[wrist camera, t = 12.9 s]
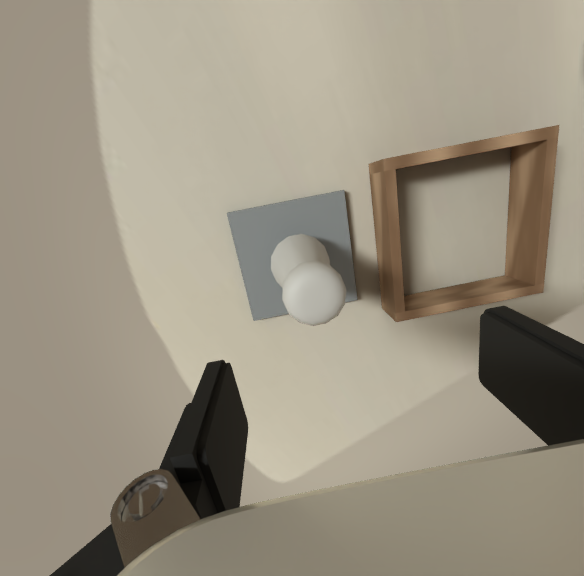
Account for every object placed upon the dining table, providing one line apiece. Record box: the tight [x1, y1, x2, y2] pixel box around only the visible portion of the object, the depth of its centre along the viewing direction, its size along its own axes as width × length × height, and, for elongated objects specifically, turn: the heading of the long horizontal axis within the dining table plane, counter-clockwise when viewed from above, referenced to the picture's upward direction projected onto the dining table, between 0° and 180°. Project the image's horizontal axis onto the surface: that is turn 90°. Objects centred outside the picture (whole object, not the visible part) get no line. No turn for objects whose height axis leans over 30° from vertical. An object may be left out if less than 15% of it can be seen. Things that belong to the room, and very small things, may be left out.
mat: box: [227, 190, 357, 321], centre depth 31 cm, size 12×12×1 cm
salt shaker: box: [271, 234, 346, 326], centre depth 24 cm, size 6×6×13 cm
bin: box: [369, 125, 559, 322], centre depth 30 cm, size 16×16×4 cm
